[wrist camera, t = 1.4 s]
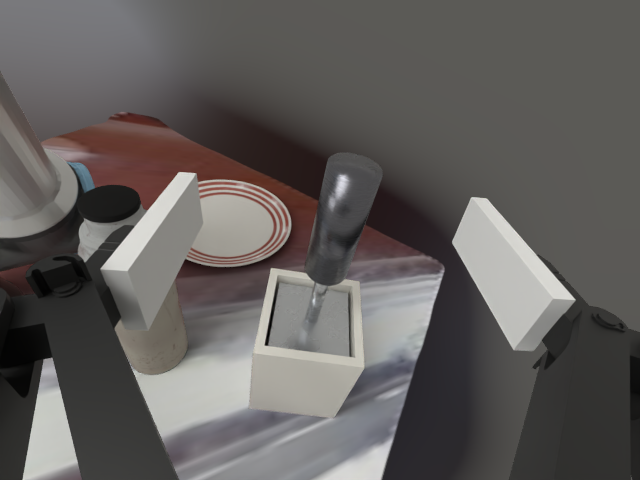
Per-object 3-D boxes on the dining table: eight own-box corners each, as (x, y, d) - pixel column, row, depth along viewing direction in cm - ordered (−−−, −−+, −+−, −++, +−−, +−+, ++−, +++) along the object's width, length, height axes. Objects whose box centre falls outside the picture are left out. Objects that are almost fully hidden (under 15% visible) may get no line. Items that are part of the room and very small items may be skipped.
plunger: (267, 351, 36) (289, 189, 21) (278, 287, 42) (301, 130, 28) (347, 362, 36) (423, 213, 22) (346, 297, 43) (403, 150, 28)
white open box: (248, 408, 44) (252, 353, 33) (264, 331, 53) (271, 267, 42) (333, 418, 45) (364, 367, 34) (334, 341, 54) (359, 281, 43)
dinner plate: (308, 216, 77) (310, 205, 75) (250, 297, 57) (250, 285, 55) (211, 177, 81) (210, 166, 79) (125, 241, 62) (121, 228, 59)
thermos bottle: (176, 317, 52) (142, 167, 33) (196, 356, 48) (171, 211, 29) (121, 341, 47) (46, 184, 29) (139, 386, 43) (64, 239, 25)
